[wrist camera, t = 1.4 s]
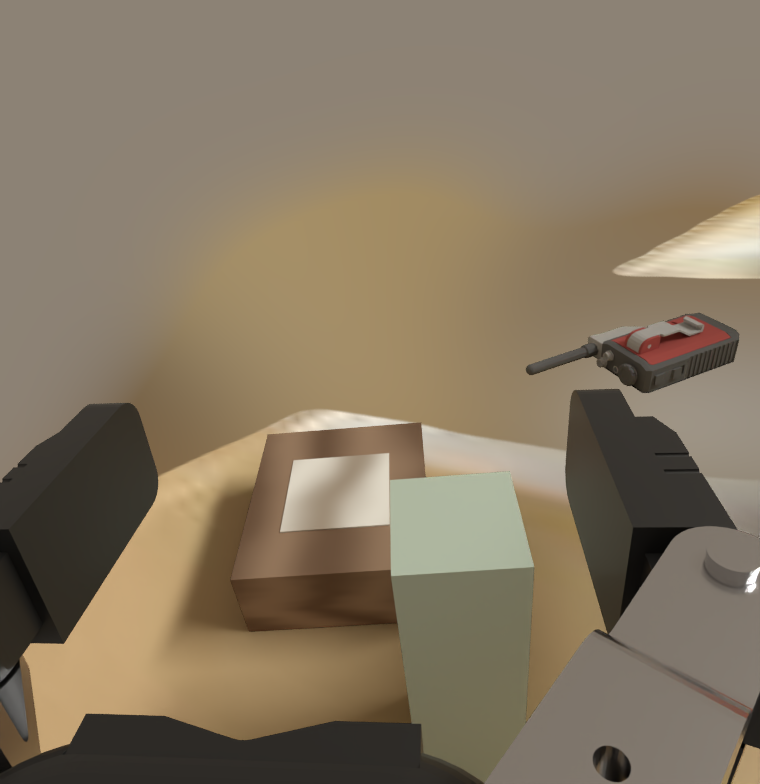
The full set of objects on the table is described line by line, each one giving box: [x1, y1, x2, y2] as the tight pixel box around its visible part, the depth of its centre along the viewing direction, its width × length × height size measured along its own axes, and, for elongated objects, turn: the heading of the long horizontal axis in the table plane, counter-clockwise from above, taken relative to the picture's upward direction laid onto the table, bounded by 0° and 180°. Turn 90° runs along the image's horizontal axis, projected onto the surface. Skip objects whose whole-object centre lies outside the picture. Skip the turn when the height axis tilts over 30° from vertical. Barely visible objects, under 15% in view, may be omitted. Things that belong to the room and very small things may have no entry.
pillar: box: [390, 471, 534, 783], centre depth 28 cm, size 5×5×16 cm
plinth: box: [230, 423, 426, 631], centre depth 43 cm, size 12×14×5 cm
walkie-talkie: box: [526, 313, 739, 393], centre depth 58 cm, size 9×4×20 cm
